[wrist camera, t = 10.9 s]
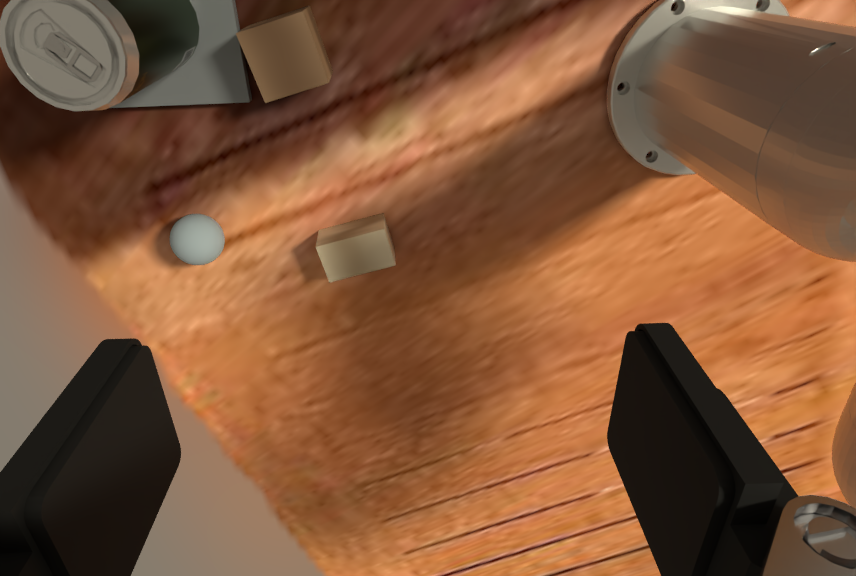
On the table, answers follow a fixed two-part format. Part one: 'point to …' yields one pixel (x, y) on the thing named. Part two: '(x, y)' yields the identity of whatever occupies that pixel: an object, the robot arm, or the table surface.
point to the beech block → (356, 247)
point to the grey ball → (197, 239)
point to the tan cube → (286, 54)
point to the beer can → (95, 47)
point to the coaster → (204, 65)
